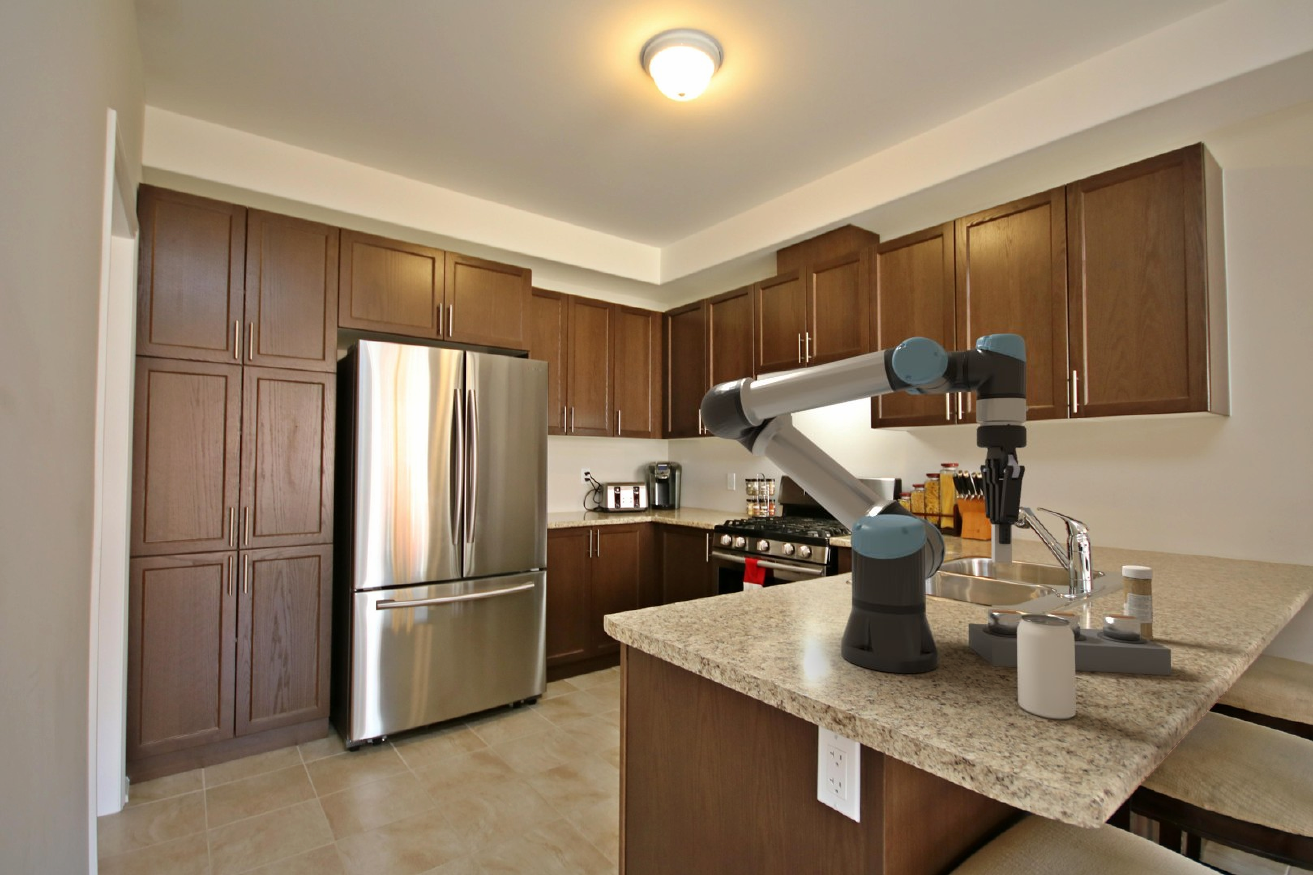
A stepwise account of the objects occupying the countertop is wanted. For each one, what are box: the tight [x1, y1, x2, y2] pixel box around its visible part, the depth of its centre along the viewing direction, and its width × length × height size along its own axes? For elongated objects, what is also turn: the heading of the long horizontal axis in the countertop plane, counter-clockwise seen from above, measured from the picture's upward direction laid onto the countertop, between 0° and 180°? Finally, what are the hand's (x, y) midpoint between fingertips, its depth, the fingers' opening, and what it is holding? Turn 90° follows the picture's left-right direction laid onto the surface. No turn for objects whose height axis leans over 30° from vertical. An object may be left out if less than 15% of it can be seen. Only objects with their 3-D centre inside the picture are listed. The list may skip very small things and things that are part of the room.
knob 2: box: [1102, 613, 1141, 640], centre depth 102 cm, size 5×5×3 cm
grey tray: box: [968, 622, 1172, 676], centre depth 104 cm, size 26×11×4 cm, turn 81°
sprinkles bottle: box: [1121, 564, 1154, 641], centre depth 117 cm, size 5×5×14 cm
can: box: [1017, 613, 1077, 721], centre depth 82 cm, size 6×6×12 cm
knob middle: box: [1044, 610, 1081, 637], centre depth 104 cm, size 5×5×3 cm
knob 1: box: [987, 608, 1023, 634], centre depth 105 cm, size 5×5×3 cm
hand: (1001, 562), depth 106 cm, fingers closed
